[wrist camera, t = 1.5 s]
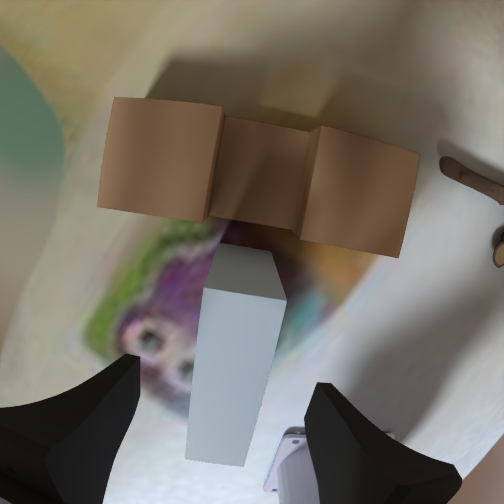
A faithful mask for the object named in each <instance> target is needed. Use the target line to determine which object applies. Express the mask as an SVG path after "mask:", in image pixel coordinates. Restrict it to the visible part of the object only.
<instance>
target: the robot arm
mask: <svg viewBox="0 0 504 504" xmlns="http://www.w3.org/2000/svg"><path fill="white" fill-rule="evenodd" d="M139 398H140V357H139V356H135V355H130V354H125V355H123V356H122V357H120V358H119V359H118V360H116V361H115V362H113V363H112V364H111V365H109V366H108V367H106V368H105V369H104V370H102V371H101V372H99V373H98V374H96V375H95V376H93V377H92V378H90V379H88V380H87V381H85V382H83V383H82V384H80V385H78V386H76V387H74V388H72V389H70V390H68V391H66V392H63V393H61V394H59V395H56V396H53V397H50V398H47V399H44V400H41V401H38V402H34V403H30V404H25V405H20V406H14V407H5V408H0V504H103V499H104V495H105V491H106V487H107V483H108V479H109V476H110V472H111V469H112V465H113V462H114V459H115V457H116V454H117V452H118V449H119V447H120V445H121V443H122V441H123V438H124V436H125V434H126V432H127V430H128V428H129V425H130V423H131V421H132V419H133V416H134V414H135V411H136V408H137V405H138V401H139ZM304 421H305V432H306V435H300V434H287V435H285V436H283V438H282V440H281V443H280V445H279V448H278V451H277V453H276V456H275V458H274V461H273V464H272V466H271V469H270V471H269V474H268V476H267V479H266V481H265V484H264V486H263V490H264V491H265V492H270V493H278V496H279V504H447V502H448V501H449V500H450V499H451V498H452V497H453V496H454V495H455V494H456V493H457V491H458V490H459V489H460V487H461V485H462V478H461V476H460V475H459V473H458V471H457V470H456V468H455V466H454V465H453V464H449V463H446V462H442V461H439V460H436V459H433V458H430V457H428V456H425V455H423V454H421V453H418V452H416V451H414V450H412V449H410V448H408V447H406V446H405V445H403V444H401V443H399V442H398V441H396V440H394V439H395V436H394V434H393V433H384V432H383V431H381V430H380V429H379V428H377V427H376V426H375V425H374V424H373V423H371V422H370V421H369V420H368V419H367V418H366V417H364V416H363V415H362V414H361V413H360V412H359V411H358V410H357V409H356V408H355V407H354V406H353V405H352V404H351V403H350V402H349V401H348V400H347V399H346V398H345V397H344V396H343V395H342V394H341V393H340V392H339V391H338V390H337V389H336V388H335V387H334V386H333V385H332V384H331V383H319V382H317V384H316V387H315V390H314V392H313V395H312V398H311V401H310V403H309V406H308V409H307V411H306V414H305V417H304ZM294 440H295V441H294Z"/></svg>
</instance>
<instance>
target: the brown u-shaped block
mask: <svg viewBox="0 0 504 504" xmlns="http://www.w3.org/2000/svg"><path fill="white" fill-rule="evenodd" d="M419 158H420V154H417V153H414V152H411V151H409V150H406V149H403V148H400V147H397V146H393V145H390V144H387V143H384V142H381V141H377V140H374V139H371V138H367V137H364V136H360V135H357V134H353V133H350V132H346V131H342V130H338V129H334V128H330V127H326V126H322V125H321V126H320V127H318V128H316V129H315V130H313V131H311V132H306V131H302V130H297V129H292V128H287V127H282V126H277V125H272V124H267V123H262V122H256V121H250V120H244V119H238V118H232V117H226V116H225V113H224V110H223V107H222V106H216V105H208V104H200V103H192V102H182V101H172V100H160V99H145V98H126V97H114V101H113V105H112V110H111V115H110V120H109V125H108V131H107V137H106V142H105V149H104V155H103V162H102V169H101V176H100V185H99V193H98V203H97V207H100V208H107V209H114V210H121V211H127V212H134V213H140V214H147V215H153V216H160V217H166V218H172V219H179V220H185V221H191V222H197V223H203V222H204V220H205V219H206V218H207V217H208V216H214V217H220V218H226V219H232V220H238V221H244V222H250V223H256V224H262V225H267V226H273V227H279V228H284V229H290V230H292V231H293V232H294V233H295V235H296V236H297V237H298V238H299V239H300V240H303V241H309V242H314V243H320V244H325V245H331V246H336V247H342V248H347V249H353V250H358V251H363V252H369V253H374V254H379V255H384V256H390V257H395V258H399V254H400V250H401V247H402V243H403V238H404V234H405V230H406V226H407V221H408V217H409V212H410V207H411V203H412V198H413V192H414V187H415V182H416V176H417V170H418V164H419Z"/></svg>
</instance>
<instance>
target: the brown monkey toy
mask: <svg viewBox="0 0 504 504" xmlns="http://www.w3.org/2000/svg"><path fill="white" fill-rule="evenodd" d="M439 166H440V170H441V172H442V173H443V174H444V175H445V176H447V177H449V178H451V179H453V180H456V181H458V182H460V183H462V184H464V185H466V186H469V187H471V188H473V189H475V190H477V191H479V192H481V193H483V194H485V195H487V196H489V197H491V198H492V199H494V200H496V201H497V202H498V203H500V205H504V186H503V185H501V184H499V183H497V182H495V181H492V180H490V179H488V178H486V177H484V176H482V175H479V174H477V173H475V172H473V171H472V170H470V169H468V168H467V167H465V166H464V165H462V164H461V163H459V162H458V161H456V160H455V159H453V158H451V157H447V156H445V157H442V158H441V159H440V161H439ZM493 262H494V265H495V266H496V267H498V268H500V267H502V266H503V265H504V232H503V234H502V238H501V242H499V243H498V245H497V246H496V248H495V250H494V253H493Z"/></svg>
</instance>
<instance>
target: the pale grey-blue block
mask: <svg viewBox="0 0 504 504" xmlns="http://www.w3.org/2000/svg"><path fill="white" fill-rule="evenodd" d="M286 303H287V299H286V296H285V293H284V290H283V287H282V284H281V281H280V278H279V275H278V272H277V269H276V266H275V263H274V260H273V257H272V254H271V251H266V250H260V249H254V248H248V247H243V246H237V245H231V244H225V243H219V245H218V248H217V250H216V253H215V256H214V259H213V262H212V265H211V268H210V271H209V274H208V277H207V280H206V283H205V286H204V290H203V297H202V305H201V313H200V320H199V328H198V336H197V345H196V353H195V362H194V371H193V380H192V390H191V399H190V410H189V420H188V431H187V443H186V455H185V459H188V460H194V461H201V462H208V463H215V464H223V465H231V466H241V467H244V464H245V460H246V457H247V453H248V450H249V446H250V443H251V439H252V436H253V432H254V429H255V425H256V422H257V418H258V414H259V411H260V407H261V403H262V400H263V396H264V392H265V388H266V384H267V381H268V377H269V373H270V369H271V365H272V361H273V357H274V353H275V349H276V345H277V341H278V337H279V333H280V329H281V325H282V320H283V316H284V312H285V308H286Z"/></svg>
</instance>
